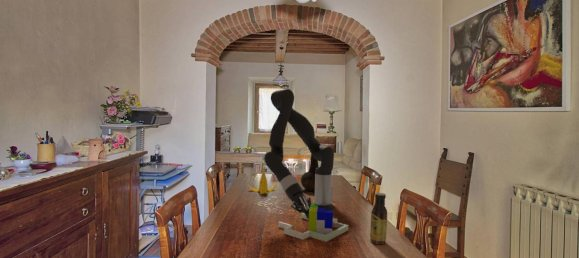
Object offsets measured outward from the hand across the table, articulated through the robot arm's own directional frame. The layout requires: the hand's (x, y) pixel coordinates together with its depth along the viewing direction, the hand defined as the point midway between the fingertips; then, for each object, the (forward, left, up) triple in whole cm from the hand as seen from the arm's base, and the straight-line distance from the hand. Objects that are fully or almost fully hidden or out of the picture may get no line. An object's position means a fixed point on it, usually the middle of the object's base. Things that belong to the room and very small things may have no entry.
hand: (311, 218), depth 144 cm
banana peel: (-13, -70, -5) cm, 71 cm away
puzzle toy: (-1, +5, -4) cm, 7 cm away
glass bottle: (-44, -60, -4) cm, 75 cm away
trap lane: (0, 0, -4) cm, 4 cm away
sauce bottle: (-15, +26, -4) cm, 30 cm away
